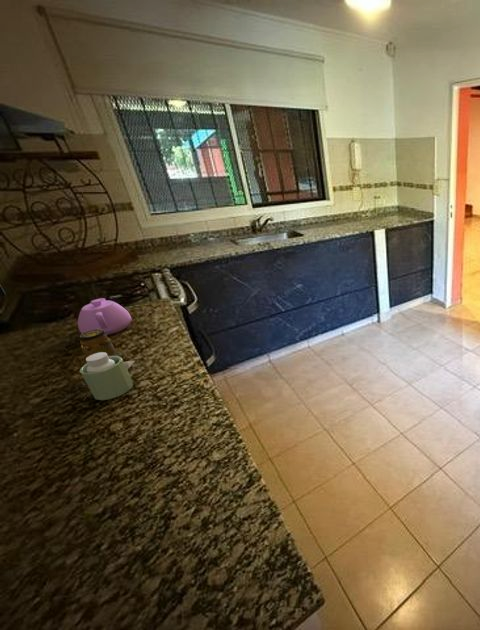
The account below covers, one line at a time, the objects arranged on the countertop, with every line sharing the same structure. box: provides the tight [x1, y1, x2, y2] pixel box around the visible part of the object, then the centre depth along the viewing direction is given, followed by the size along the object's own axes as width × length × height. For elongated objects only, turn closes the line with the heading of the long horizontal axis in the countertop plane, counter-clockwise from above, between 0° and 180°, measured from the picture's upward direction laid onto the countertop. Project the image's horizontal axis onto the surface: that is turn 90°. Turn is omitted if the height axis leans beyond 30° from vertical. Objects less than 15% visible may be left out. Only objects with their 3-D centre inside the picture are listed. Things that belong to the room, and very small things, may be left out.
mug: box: [79, 355, 134, 401], centre depth 87 cm, size 8×8×8 cm
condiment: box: [78, 329, 136, 370], centre depth 94 cm, size 7×8×12 cm
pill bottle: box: [85, 352, 116, 373], centre depth 86 cm, size 5×5×10 cm
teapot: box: [77, 297, 132, 336], centre depth 117 cm, size 14×20×11 cm
